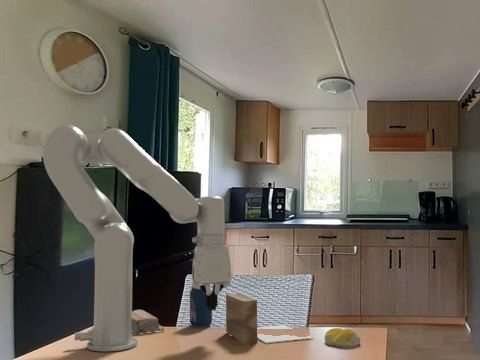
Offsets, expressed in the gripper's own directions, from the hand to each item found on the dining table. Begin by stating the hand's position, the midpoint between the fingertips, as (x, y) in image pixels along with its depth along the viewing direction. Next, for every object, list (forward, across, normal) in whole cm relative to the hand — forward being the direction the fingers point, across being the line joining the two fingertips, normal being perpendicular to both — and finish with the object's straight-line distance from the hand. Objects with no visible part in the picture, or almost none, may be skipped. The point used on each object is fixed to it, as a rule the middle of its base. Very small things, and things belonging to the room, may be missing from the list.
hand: (211, 309), depth 124 cm
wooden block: (+8, +8, 0) cm, 12 cm away
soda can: (+8, +2, +20) cm, 22 cm away
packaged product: (+9, -16, +24) cm, 30 cm away
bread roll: (+9, +30, -16) cm, 36 cm away
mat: (+8, +19, 0) cm, 21 cm away
